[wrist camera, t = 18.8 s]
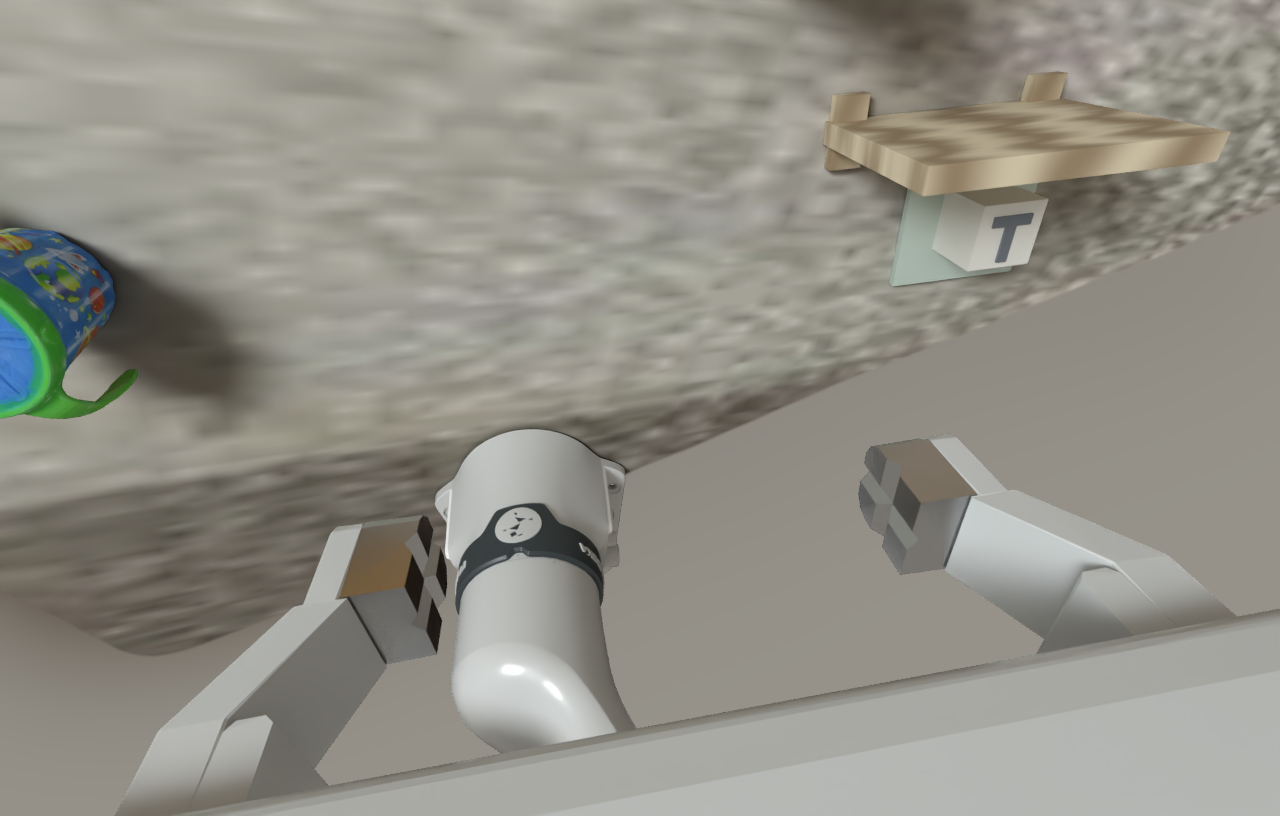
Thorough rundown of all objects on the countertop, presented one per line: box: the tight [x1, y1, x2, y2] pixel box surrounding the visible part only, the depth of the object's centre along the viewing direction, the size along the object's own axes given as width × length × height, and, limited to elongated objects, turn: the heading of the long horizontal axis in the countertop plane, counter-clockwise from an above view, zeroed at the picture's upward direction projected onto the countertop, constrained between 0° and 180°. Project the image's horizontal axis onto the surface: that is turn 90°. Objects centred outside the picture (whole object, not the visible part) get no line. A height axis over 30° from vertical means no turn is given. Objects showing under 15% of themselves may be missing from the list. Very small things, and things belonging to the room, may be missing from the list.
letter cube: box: [932, 186, 1049, 271], centre depth 46 cm, size 5×5×5 cm
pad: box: [889, 183, 1038, 286], centre depth 49 cm, size 11×11×1 cm
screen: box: [823, 72, 1230, 196], centre depth 39 cm, size 18×5×14 cm, turn 94°
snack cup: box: [0, 228, 138, 419], centre depth 37 cm, size 16×10×10 cm
